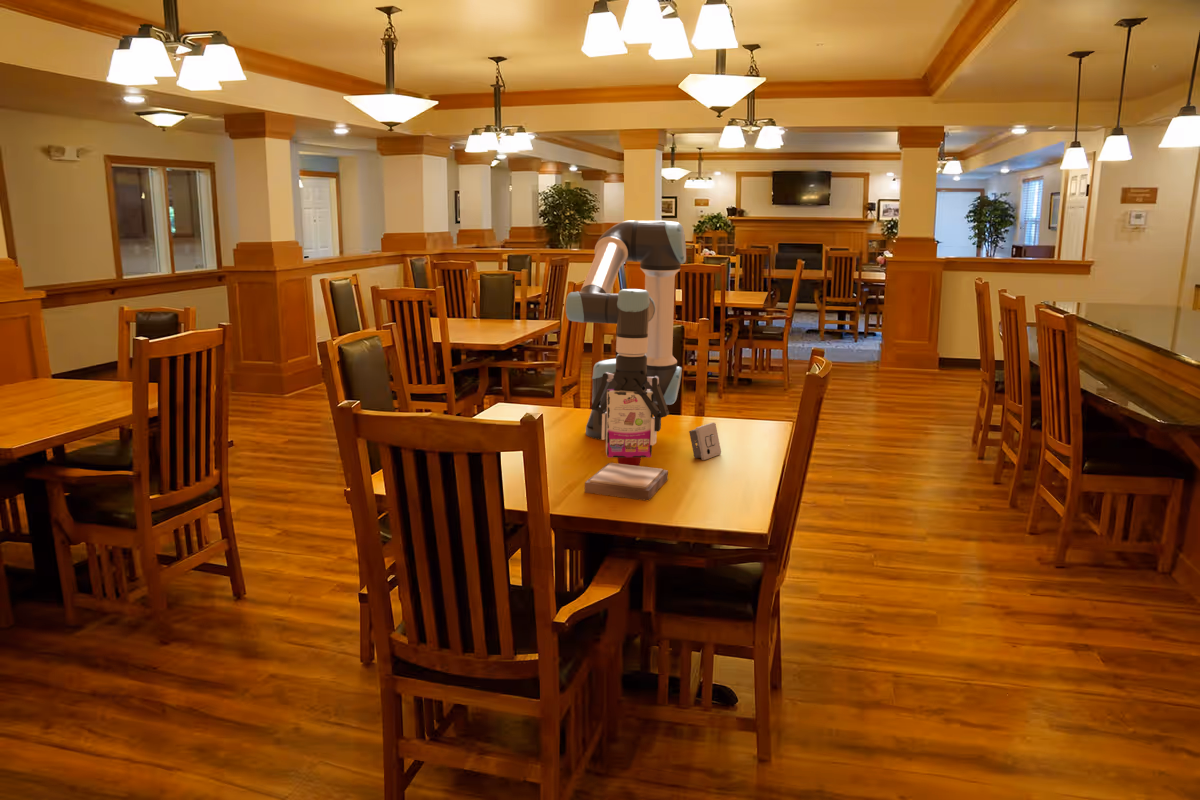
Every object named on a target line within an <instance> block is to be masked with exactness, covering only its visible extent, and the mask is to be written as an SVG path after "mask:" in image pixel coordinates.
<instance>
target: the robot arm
mask: <svg viewBox="0 0 1200 800" xmlns="http://www.w3.org/2000/svg"><path fill="white" fill-rule="evenodd" d="M685 236H686V235H685V231H684V227H683V225H682V224H681V223H680V222H678V221H671V220H631V219H630V220H625V221H622V222H619V223H617V224H614V225H613V226H611V227H610V228H609V229H607V230H606V231H605V232H603V233H602V235H601V236H600V237H599V238H598V240H597V241H596V244H595V246H594V258H593V261H592V263H591V265H590V267H589V270H588V271H587V272H588V273H587V275H586V277H585V279H584V282H583V284H582V286H581V289H580V291H571V292H569V293H568V294H567V296H566V299H565V300H566V301H565V314H566V318H567V320H568V321H570V322H576V323H581V324H582V323H589V324H590V323H591V324H592V323H594V324H595V323H596V324H597V323H598V324H611V325H613V324H616V340H615V341H616V343H615V344H616V346H615V347H616V348H615V352H616V353H617V354H616V356H615V358H610V359H603V360H599V361H598V362H595V364H594V366H593V370H592V377H591V379H592V391H591V392H592V394H591V396H592V398H591V403H592V405H591V406H590V409H591V411H590V414H589V417H588V420H587V423H586V426H585V436H587V437H589V438H591V437H592V438H591V439H595V438H596V439H595V440H602V441H606V413H607V389H614V391H620V389H621V390H623V391H634V392H638V394H639V395H640V396H641V397H642V399H643V400H644V402H645V403H646V405H647V406H648V408H649V410H650V411H651V413H652V414H653V418H652V419H651V438H650V445H652V446H654V445H656V444H657V433H658V432H660V431H661V429H662V427H661V426H662V425H661V424H662V419H663V418H666V417H667V416H668V415H670V411H669V409H668V405H669V406H670V405H673V404H674V403H675V402H676V401H677V398H678V395H679V394H678V393H679V389H680V385H681V379H682V370H683V367H682V366H678V360H677V359H676V358H675V357H674V355H673V347H674V346H673V345H674V344H673V342H674V341H673V340H674V338H673V337H674V312H675V311H674V310H675V307H674V306H675V282H676V278H675V276H676V274H677V273H679V272H680V270H681V265H683V264H685V263H686V261H687V244H686V237H685ZM626 262H632V263H633V262H637V263H640V264H639V266H640V267H639V269H640V270H641V271H642V273H644V275H645V277H644V289H641V288H623V289H620V290H619V291H618V293H611V292H612V290H613V287H614V284H615V281H616V279H617V276H618V273H619V271H620V268H621V266H623V265H625V263H626ZM647 389H651V390H652V392H653V402H652V401H651V400H650V399H649V397H648V396H647V395H646V393H645V392H646V391H647Z"/></svg>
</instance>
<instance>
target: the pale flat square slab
mask: <svg viewBox="0 0 1200 800" xmlns="http://www.w3.org/2000/svg"><path fill="white" fill-rule="evenodd" d="M668 475H669V470H668V469H667V470H666V469H664V468H658V467H648V466H640V465H639V466H634V465H625V464H619V463H618V462H617V463H614V462H608V463H607V464H605V466H603V467H602V468H601V469H599V470H598V471H597V472H596V473H594V475H592V476H591V477H590V478H588V479H587V480H586V481H585V482H584V493H586V494H593V493H595V494H594V495H601V494H602V495H603V496H608V495H610V497H616V496H617V497H616V498H624V497H625V498H626V499H631V498H632V499H633V500H639V499H640V501H646V500H649V499H652V497H653V496H654V495H656V493H657V492H658V491H659V490H660V489H661V488H662V487H663V485H665V483H666V482H667V481H668V480H669V479H668V477H669V476H668ZM659 488H660V489H659ZM658 489H659V490H658ZM602 495H601V496H602ZM625 498H624V499H625ZM649 501H650V500H649Z"/></svg>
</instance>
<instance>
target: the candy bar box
mask: <svg viewBox="0 0 1200 800" xmlns="http://www.w3.org/2000/svg"><path fill="white" fill-rule="evenodd" d="M645 393H646V395H647V396H648V397H649V399H650V400H651V401H652V402H653V392H652V390H651V389H647V391H646V392H645ZM653 417H654V416H653V414H652V413H651V411H650V410H649V408H648V406H647V405H646V403H645V402H644V400H643V399H642V397H641V396H640V395H639V394H638V392H634V391H623V390H621V389H620V391H614V389H607V413H606V440H605V453H606V457H607V458H617V459H618V458H623V457H641V458H652V456H653V455H652V453H653V451H652V450H653V445H650V438H651V419H652V418H653Z"/></svg>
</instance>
